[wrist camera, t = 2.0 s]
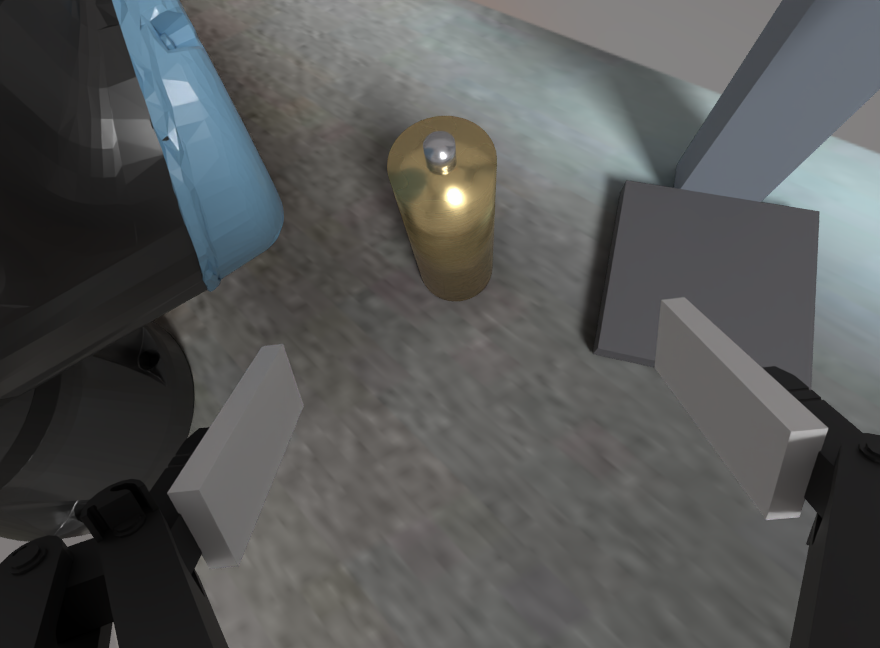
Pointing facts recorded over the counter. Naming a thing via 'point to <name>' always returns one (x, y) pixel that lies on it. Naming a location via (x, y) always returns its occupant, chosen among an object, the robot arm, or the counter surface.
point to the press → (744, 196)
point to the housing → (447, 202)
